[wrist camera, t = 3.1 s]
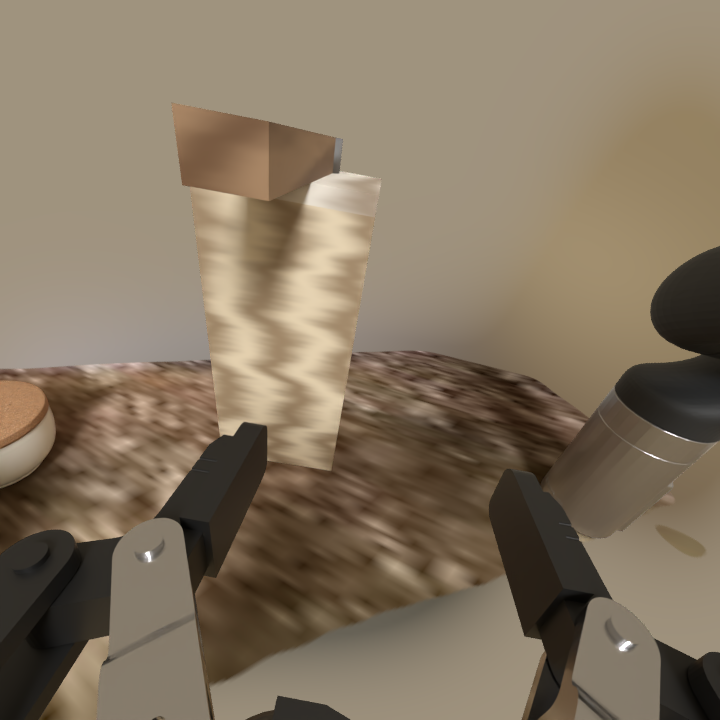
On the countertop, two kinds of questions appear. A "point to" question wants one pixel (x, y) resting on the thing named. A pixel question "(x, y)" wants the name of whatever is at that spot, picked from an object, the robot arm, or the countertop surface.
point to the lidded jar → (23, 430)
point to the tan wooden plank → (249, 154)
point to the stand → (285, 307)
